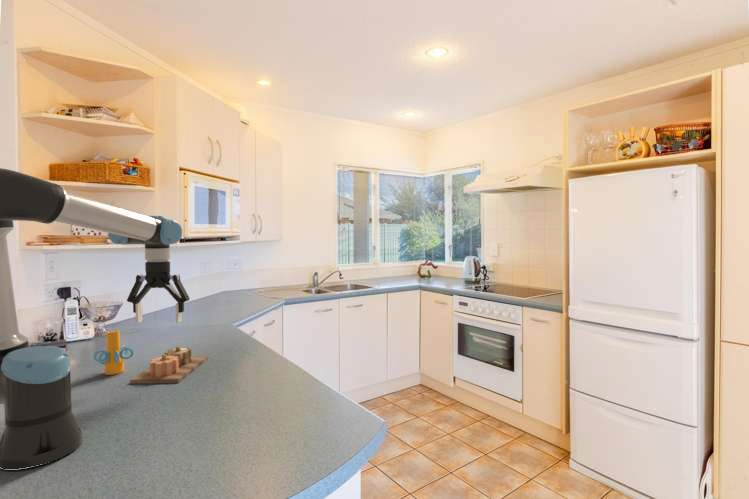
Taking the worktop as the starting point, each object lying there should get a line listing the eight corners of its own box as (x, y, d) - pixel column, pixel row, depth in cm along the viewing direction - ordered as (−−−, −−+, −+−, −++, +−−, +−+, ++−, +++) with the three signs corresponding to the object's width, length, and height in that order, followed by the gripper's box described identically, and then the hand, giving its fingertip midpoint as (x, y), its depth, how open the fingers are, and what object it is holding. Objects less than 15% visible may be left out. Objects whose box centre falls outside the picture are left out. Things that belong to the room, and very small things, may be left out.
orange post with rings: (112, 379, 136) (110, 336, 135) (87, 377, 138) (85, 335, 137) (140, 367, 147) (138, 327, 147) (116, 365, 150) (115, 326, 149)
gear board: (178, 382, 132) (178, 361, 132) (130, 383, 132) (129, 362, 131) (207, 359, 156) (206, 341, 156) (166, 360, 156) (165, 342, 155)
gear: (171, 376, 135) (170, 363, 134) (144, 377, 134) (144, 363, 134) (183, 367, 143) (182, 355, 143) (158, 367, 143) (158, 355, 143)
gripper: (198, 259, 140) (199, 319, 141) (127, 260, 140) (129, 319, 140) (189, 261, 133) (190, 324, 133) (114, 261, 132) (115, 324, 133)
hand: (159, 322), depth 137 cm, fingers open, 13 cm apart
